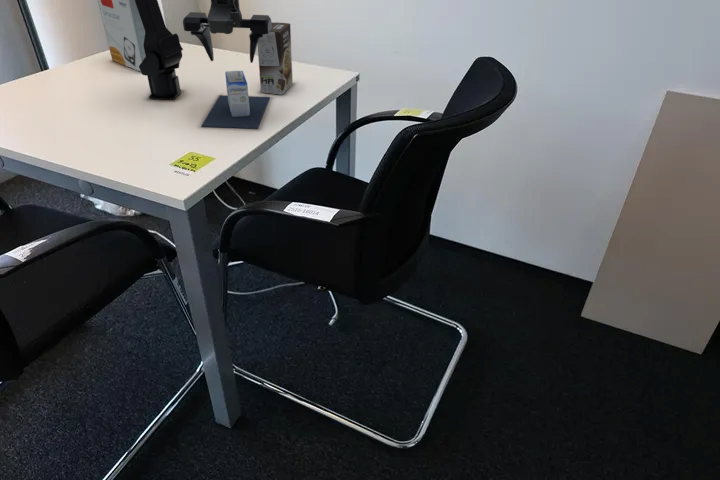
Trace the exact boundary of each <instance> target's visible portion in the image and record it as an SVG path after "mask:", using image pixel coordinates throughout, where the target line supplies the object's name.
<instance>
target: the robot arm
mask: <svg viewBox="0 0 720 480" xmlns="http://www.w3.org/2000/svg"><path fill="white" fill-rule="evenodd" d="M135 3H136V6H137V9H138V12H139V15H140V18H141V21H142V24H143V26H144V29H145V38H144V44H143V46H144V51H145V55H146V57H145V58H144V60H143V61H142V62H141V64H140V65H139V69H140V71H141V72H140V71H139V72H140V73H141V75H142V76H146V77H147V81H148V87H149V91H150V95H148V99H150V100H171V101H172V100H175V99H176V98H177V96H178V95H179V94H180V93H181V91H182V89H181V86H180V79H179V76H178V75H177V73H176V69H179V68H180V63H181V60H182V58H183V51H184V48H183V47H182V44H181V42H180V37H179V35H178V33H172V32H171V31H170V30H169V29H168V28H167V25H166V23H165V21H164V17H163V16H164V15H163V14H162V9H161V7H160V4H159V1H158V0H135ZM271 22H272V19H271V17H270V15H268V14H253V15H252V16H251V17H250V18H243V15H242V11H241V9H240V0H210V8H209V11H208V14H207V13H206V12H200V11H199V12H196V11H195V12H194V11H190V12H189V13H188V14H187V15H186V16H185V17H184V18H183V19H182V27H183V31H184V32H189V33H190V35H191V36H195V37H196V38H197V39H198V40H199V42H201V45H202V46H203V48H204V50H205V52H206V54H207V56H208V58H209V60H210V62H214V60H215V59H214V48H213V47H214V46H213V42H212V36H211V34H215V35H216V34H225V35H231V34H232V33H233V32H234V29H235V28H236V29H249V31H250V33H249V35H248V37H249V63H250V64H251V63H253V62H254V58H255V55H256V51H257V48H258V41H259V38H262V37H263V36H264V34H268V33H269V31H270V30H271V28H272V25H271Z"/></svg>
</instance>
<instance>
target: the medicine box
mask: <svg viewBox="0 0 720 480" xmlns="http://www.w3.org/2000/svg"><path fill="white" fill-rule="evenodd" d="M224 73H225V74H224V75H225V82H226V83H225V86H226V96H228V105H229V108H230V112H231V115H232V117H243V116H250V109H249V98H248V96H249V88H248V87H249V86H248V81H247V79H246V76H245V73H244V70H228V71H227V70H226V71H225V72H224Z"/></svg>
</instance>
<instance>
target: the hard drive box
mask: <svg viewBox="0 0 720 480" xmlns="http://www.w3.org/2000/svg"><path fill="white" fill-rule="evenodd" d="M97 3H98V7H99V11H100V16H101V19H102V23H103V28H104V32H105V33H104V34H105V36H106V40H107V44H108V45H107V46H108V49H109V53H110V58H111V61H113V62H116V63H117V64H120V65H123V66H124V67H125V66H126V67H127V68H130V69H132V70H134V71H137V72H140V73H141V71H140V69H139V65H140V64H141V62H142V61H143V60H144V58H145V57H146V55H145V51H144V46H143V44H144V38H145V29H144V26H143V24H142V21H141V18H140V15H139V12H138V9H137V6H136V3H135V0H97Z"/></svg>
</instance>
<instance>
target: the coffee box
mask: <svg viewBox="0 0 720 480" xmlns="http://www.w3.org/2000/svg"><path fill="white" fill-rule="evenodd" d="M271 25H272V28H271V30H270V31H269V33H268V34H264V36H263V37H262V38H259V41H258V43H257V56H258V69H259V83H260V84H259V85H260V92H261V93H263V94H273V95H280V96H282V95H284V94H285V93H286V91H287V90H288V89H290V87H291V86H292V85H293V56H292V35H291V34H292V33H291V23H289V22H272V21H271Z"/></svg>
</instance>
